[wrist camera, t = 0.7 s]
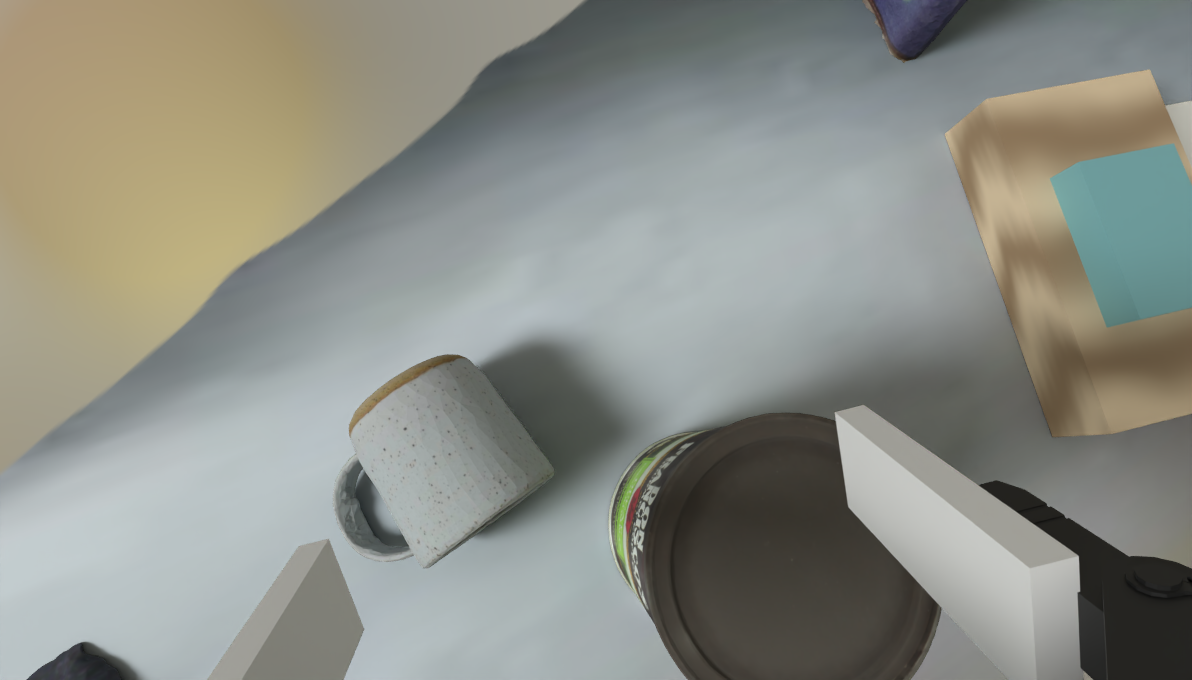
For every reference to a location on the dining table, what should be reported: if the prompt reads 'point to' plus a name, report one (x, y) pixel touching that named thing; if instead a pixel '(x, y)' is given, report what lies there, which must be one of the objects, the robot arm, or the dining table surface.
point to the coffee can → (764, 558)
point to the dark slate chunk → (76, 667)
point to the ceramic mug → (436, 460)
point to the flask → (911, 23)
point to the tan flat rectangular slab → (1071, 251)
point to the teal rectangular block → (1132, 230)
